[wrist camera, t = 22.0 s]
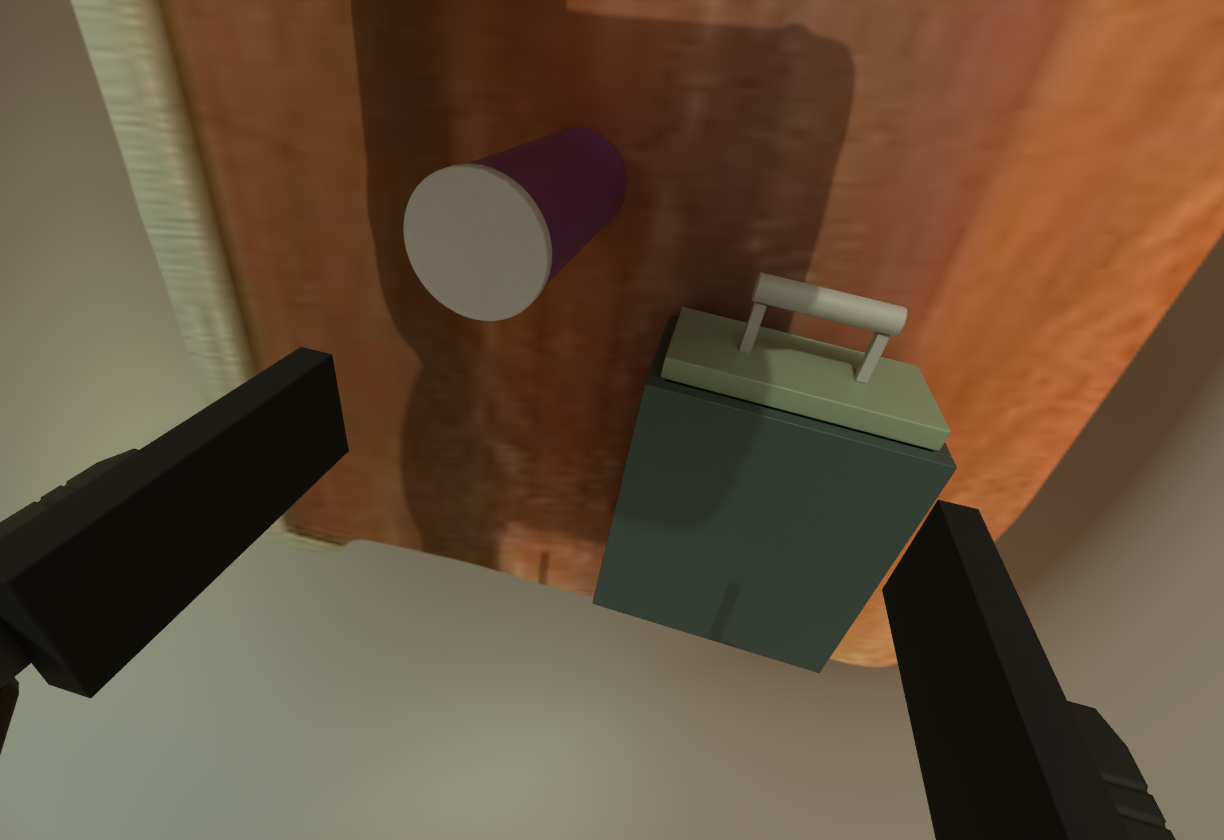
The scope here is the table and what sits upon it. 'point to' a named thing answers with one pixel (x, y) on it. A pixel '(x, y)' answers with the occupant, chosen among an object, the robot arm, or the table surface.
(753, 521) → the cabinet
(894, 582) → the robot arm
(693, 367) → the drawer
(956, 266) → the table surface
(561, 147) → the snack tube
